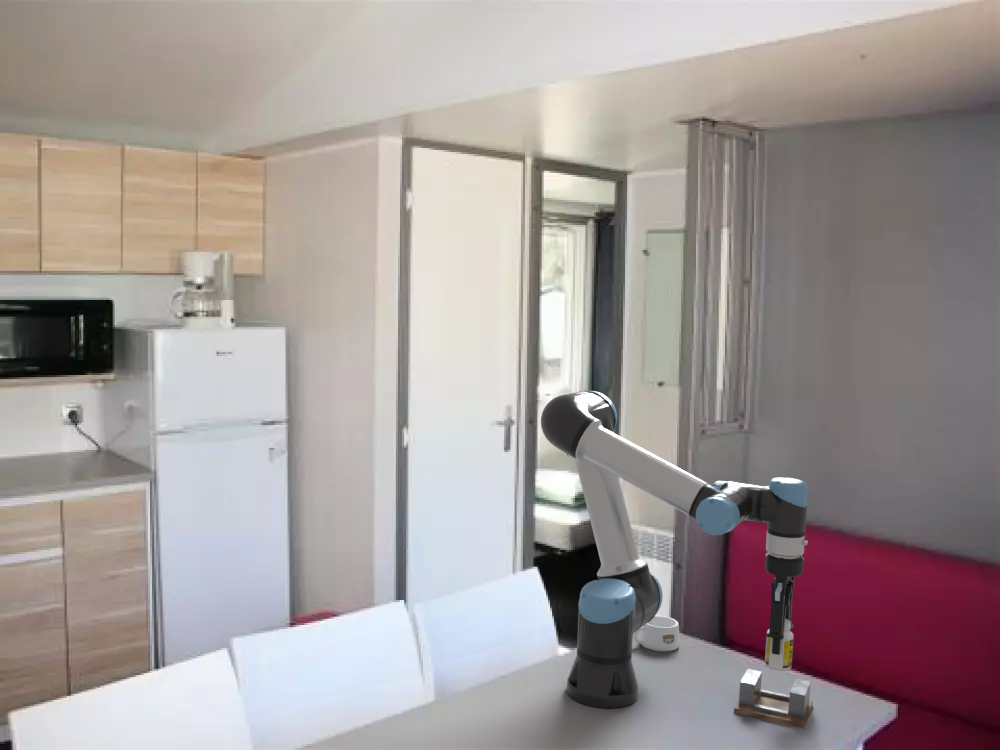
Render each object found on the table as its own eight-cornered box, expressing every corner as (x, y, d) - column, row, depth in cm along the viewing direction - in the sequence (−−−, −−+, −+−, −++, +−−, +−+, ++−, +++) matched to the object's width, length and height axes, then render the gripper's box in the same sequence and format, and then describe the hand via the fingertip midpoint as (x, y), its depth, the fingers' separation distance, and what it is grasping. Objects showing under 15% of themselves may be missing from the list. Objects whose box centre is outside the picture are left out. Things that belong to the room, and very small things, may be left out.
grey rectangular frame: (737, 706, 202) (739, 683, 202) (746, 689, 211) (748, 667, 210) (802, 720, 197) (804, 696, 196) (809, 703, 205) (811, 680, 205)
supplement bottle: (792, 672, 199) (795, 626, 198) (765, 670, 200) (768, 623, 200) (790, 663, 205) (793, 617, 204) (763, 660, 206) (766, 615, 205)
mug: (666, 636, 244) (668, 613, 243) (686, 650, 234) (688, 626, 234) (623, 640, 240) (625, 616, 239) (642, 655, 230) (643, 630, 230)
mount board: (733, 712, 201) (734, 708, 201) (745, 691, 212) (745, 687, 212) (804, 728, 195) (804, 723, 195) (812, 705, 206) (812, 701, 206)
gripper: (796, 567, 190) (789, 682, 193) (810, 546, 207) (803, 651, 209) (757, 562, 194) (751, 674, 196) (773, 541, 210) (767, 645, 212)
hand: (778, 662), depth 203 cm, fingers closed on supplement bottle, 5 cm apart
